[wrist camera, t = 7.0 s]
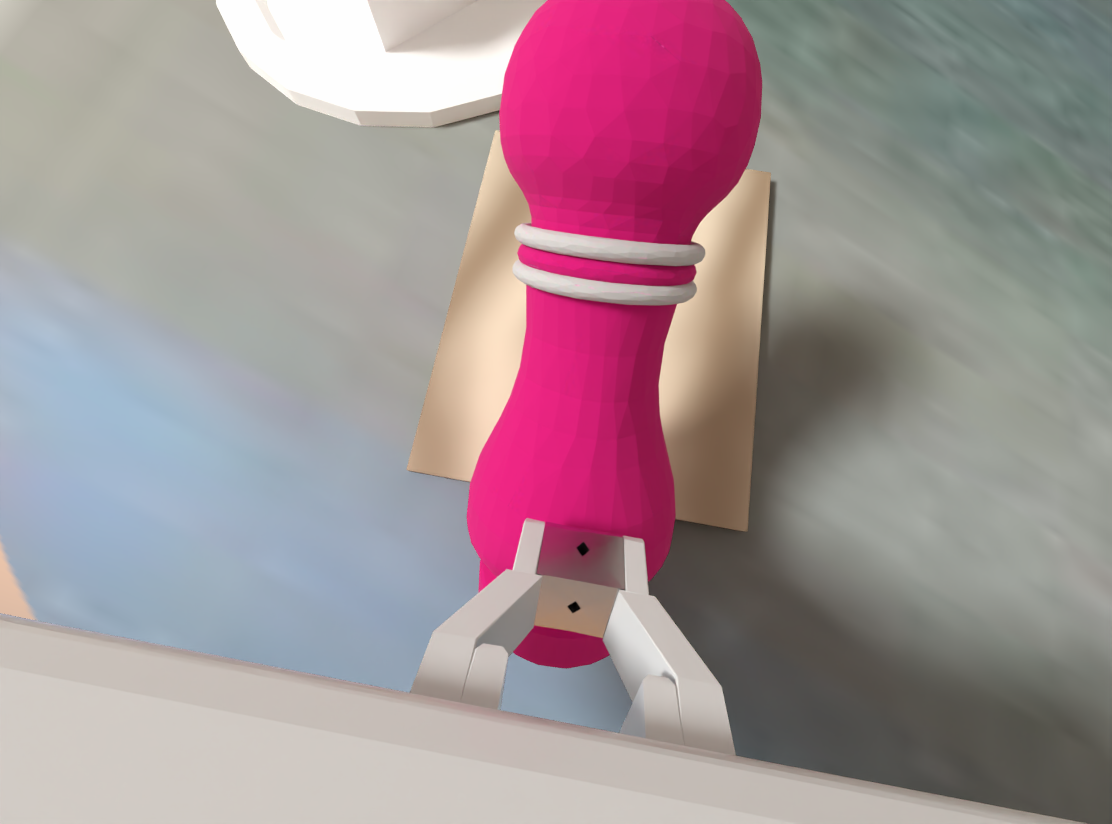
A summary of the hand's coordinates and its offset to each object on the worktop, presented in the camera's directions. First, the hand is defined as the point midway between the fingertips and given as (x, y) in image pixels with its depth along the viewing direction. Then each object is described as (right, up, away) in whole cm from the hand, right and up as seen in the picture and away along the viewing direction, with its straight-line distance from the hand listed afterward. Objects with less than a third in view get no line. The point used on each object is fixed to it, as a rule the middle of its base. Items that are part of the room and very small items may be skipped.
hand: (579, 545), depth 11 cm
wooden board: (+2, +9, +12) cm, 15 cm away
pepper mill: (-1, -4, +6) cm, 8 cm away
